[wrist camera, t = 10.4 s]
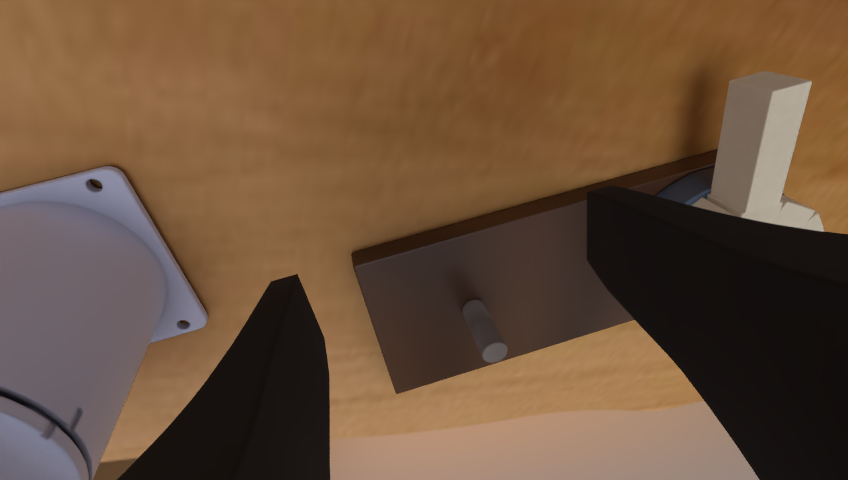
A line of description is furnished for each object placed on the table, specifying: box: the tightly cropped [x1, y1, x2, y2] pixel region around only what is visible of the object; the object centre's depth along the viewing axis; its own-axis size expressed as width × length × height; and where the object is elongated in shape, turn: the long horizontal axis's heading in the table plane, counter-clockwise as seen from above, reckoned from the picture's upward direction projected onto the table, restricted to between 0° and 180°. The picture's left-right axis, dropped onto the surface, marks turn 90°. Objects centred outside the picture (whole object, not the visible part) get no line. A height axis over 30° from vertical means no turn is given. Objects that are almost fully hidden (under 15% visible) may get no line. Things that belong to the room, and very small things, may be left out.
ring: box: [691, 71, 825, 232], centre depth 21 cm, size 8×13×2 cm, turn 11°
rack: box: [351, 150, 785, 394], centre depth 22 cm, size 22×9×6 cm, turn 101°
